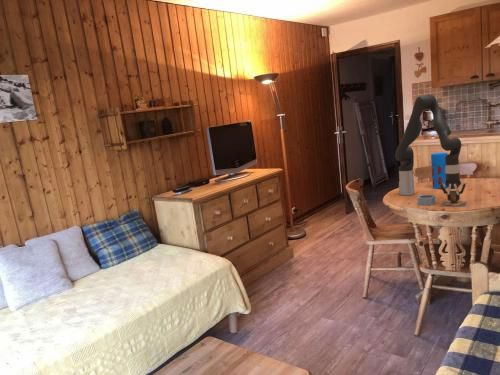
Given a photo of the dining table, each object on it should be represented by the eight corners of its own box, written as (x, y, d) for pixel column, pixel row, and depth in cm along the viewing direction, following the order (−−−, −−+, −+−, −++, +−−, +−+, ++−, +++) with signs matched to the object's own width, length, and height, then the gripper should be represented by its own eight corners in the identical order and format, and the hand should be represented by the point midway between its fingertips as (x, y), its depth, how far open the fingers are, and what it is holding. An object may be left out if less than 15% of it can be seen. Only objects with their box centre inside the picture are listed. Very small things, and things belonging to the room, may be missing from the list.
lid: (442, 206, 228) (441, 193, 226) (445, 201, 236) (444, 189, 235) (463, 206, 221) (462, 193, 220) (465, 201, 230) (465, 189, 229)
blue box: (448, 189, 271) (446, 153, 267) (431, 189, 277) (430, 155, 273) (449, 186, 280) (448, 152, 276) (433, 186, 286) (432, 153, 282)
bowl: (416, 206, 237) (415, 198, 236) (419, 202, 245) (419, 194, 244) (434, 206, 231) (433, 198, 230) (437, 202, 239) (436, 194, 238)
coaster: (439, 207, 228) (439, 206, 227) (443, 202, 238) (443, 201, 238) (464, 207, 220) (464, 206, 220) (467, 202, 230) (467, 201, 230)
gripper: (438, 173, 227) (439, 201, 230) (465, 172, 219) (466, 202, 221) (440, 171, 233) (441, 199, 236) (467, 170, 225) (468, 199, 227)
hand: (453, 200), depth 228 cm, fingers closed on lid, 3 cm apart
